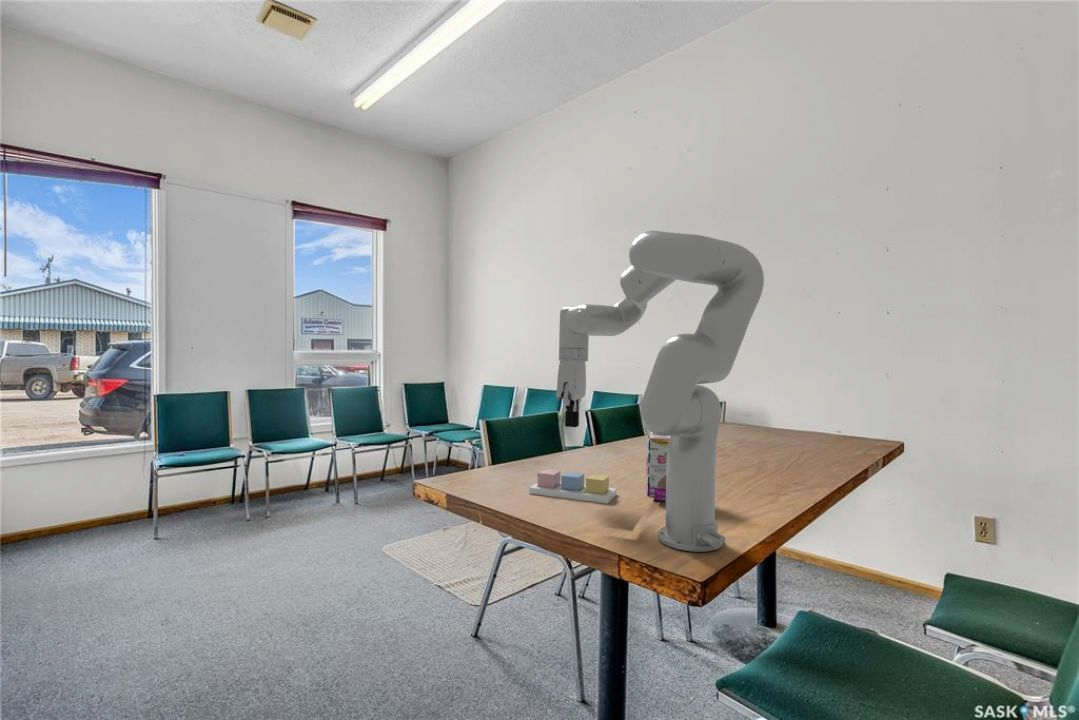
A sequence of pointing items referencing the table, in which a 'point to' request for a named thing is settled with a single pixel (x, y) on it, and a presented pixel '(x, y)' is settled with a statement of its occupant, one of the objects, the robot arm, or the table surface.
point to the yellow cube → (597, 484)
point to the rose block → (548, 479)
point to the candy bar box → (656, 467)
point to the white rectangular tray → (573, 494)
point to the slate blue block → (572, 481)
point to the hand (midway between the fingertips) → (571, 426)
